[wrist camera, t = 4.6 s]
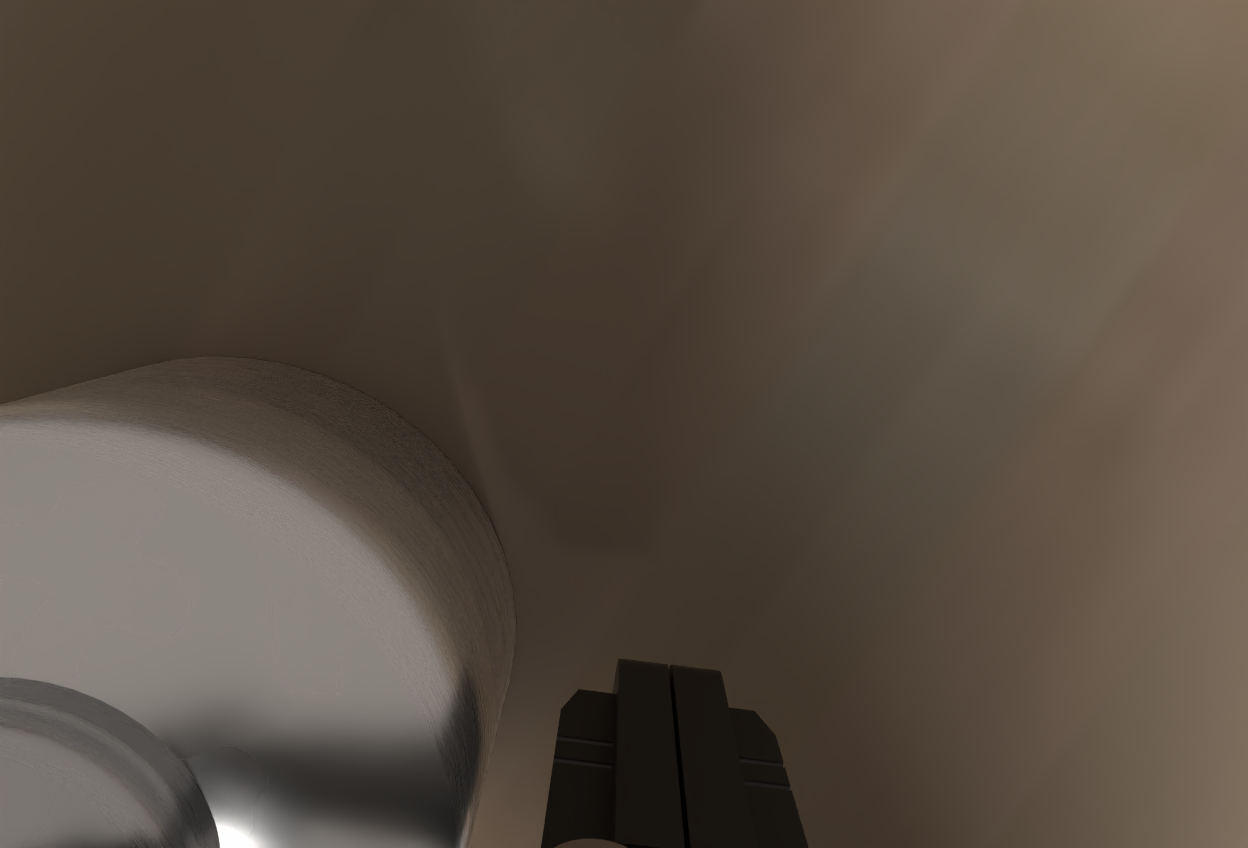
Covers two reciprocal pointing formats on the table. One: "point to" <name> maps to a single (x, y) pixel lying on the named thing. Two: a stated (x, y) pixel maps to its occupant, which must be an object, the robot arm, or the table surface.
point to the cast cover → (241, 617)
